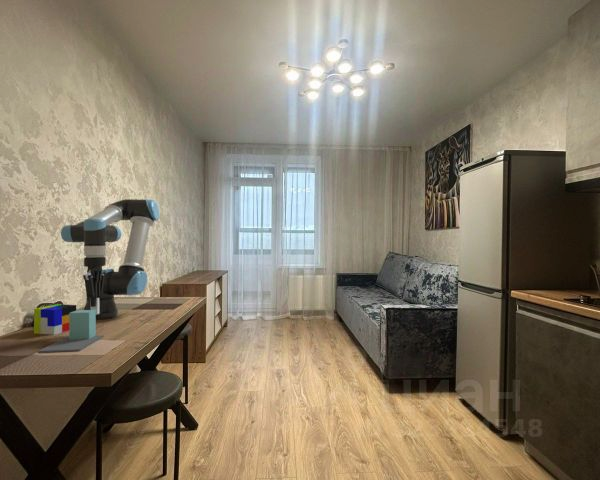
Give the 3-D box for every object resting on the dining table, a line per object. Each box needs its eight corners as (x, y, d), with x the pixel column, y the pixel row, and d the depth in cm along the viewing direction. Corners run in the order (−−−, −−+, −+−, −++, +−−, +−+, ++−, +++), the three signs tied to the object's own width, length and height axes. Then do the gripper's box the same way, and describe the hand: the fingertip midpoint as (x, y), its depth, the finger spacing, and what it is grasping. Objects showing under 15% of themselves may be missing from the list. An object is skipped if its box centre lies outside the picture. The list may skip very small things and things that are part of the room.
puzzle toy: (54, 334, 127) (54, 310, 127) (34, 333, 129) (33, 309, 129) (76, 328, 137) (76, 305, 137) (57, 326, 139) (57, 304, 139)
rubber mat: (67, 338, 123) (67, 336, 123) (103, 336, 124) (103, 335, 124) (38, 352, 107) (38, 350, 107) (79, 351, 108) (79, 349, 108)
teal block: (76, 336, 123) (76, 310, 123) (95, 335, 124) (95, 309, 124) (69, 339, 119) (69, 312, 119) (89, 339, 120) (89, 312, 120)
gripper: (93, 255, 136) (93, 310, 136) (75, 257, 123) (75, 318, 123) (112, 255, 137) (112, 310, 137) (96, 257, 124) (96, 317, 124)
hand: (94, 313), depth 130 cm, fingers closed
